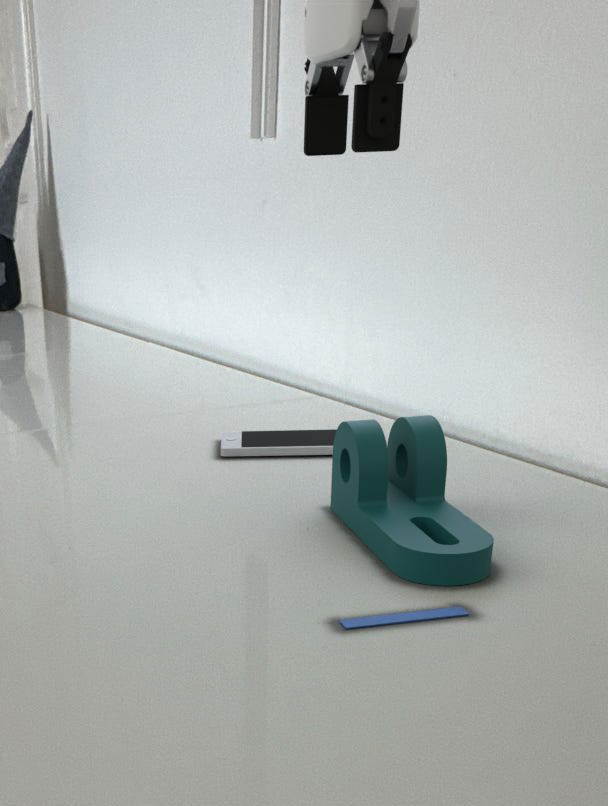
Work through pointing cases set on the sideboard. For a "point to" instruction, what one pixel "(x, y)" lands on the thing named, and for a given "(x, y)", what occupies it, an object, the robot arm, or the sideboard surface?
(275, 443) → the smartphone
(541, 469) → the sideboard surface
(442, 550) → the bracket
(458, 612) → the tape line
